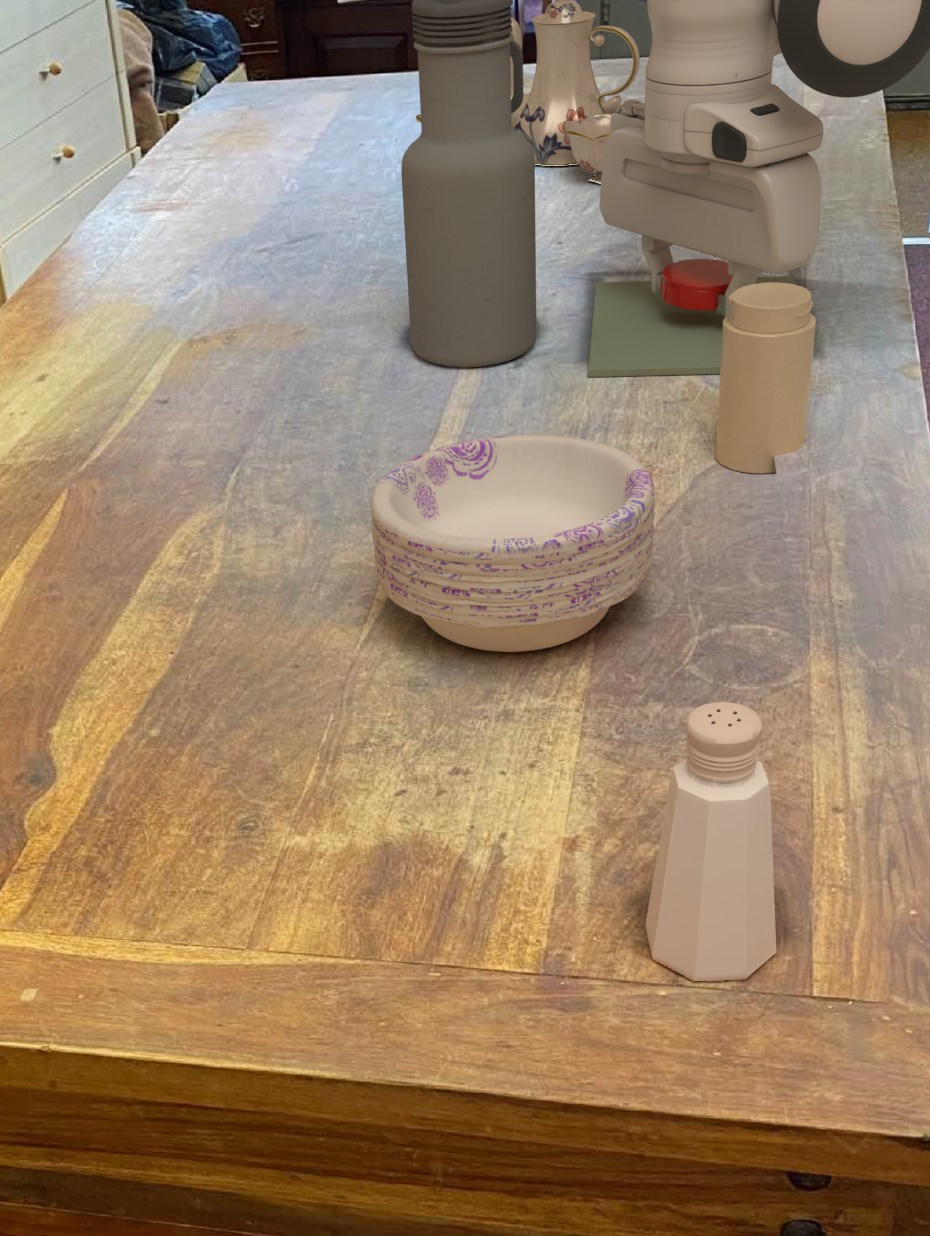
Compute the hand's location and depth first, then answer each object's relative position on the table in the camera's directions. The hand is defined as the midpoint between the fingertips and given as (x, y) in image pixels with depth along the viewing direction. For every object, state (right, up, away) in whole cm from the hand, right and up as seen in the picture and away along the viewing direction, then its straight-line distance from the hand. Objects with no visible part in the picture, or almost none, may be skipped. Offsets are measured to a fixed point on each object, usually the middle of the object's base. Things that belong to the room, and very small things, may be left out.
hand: (698, 305), depth 125 cm
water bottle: (-17, -3, +2) cm, 17 cm away
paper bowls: (-18, -28, -34) cm, 47 cm away
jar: (0, -16, -19) cm, 25 cm away
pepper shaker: (-13, -44, -58) cm, 74 cm away
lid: (0, +2, -1) cm, 2 cm away
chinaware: (-5, +28, +45) cm, 53 cm away
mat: (0, -1, +1) cm, 2 cm away
